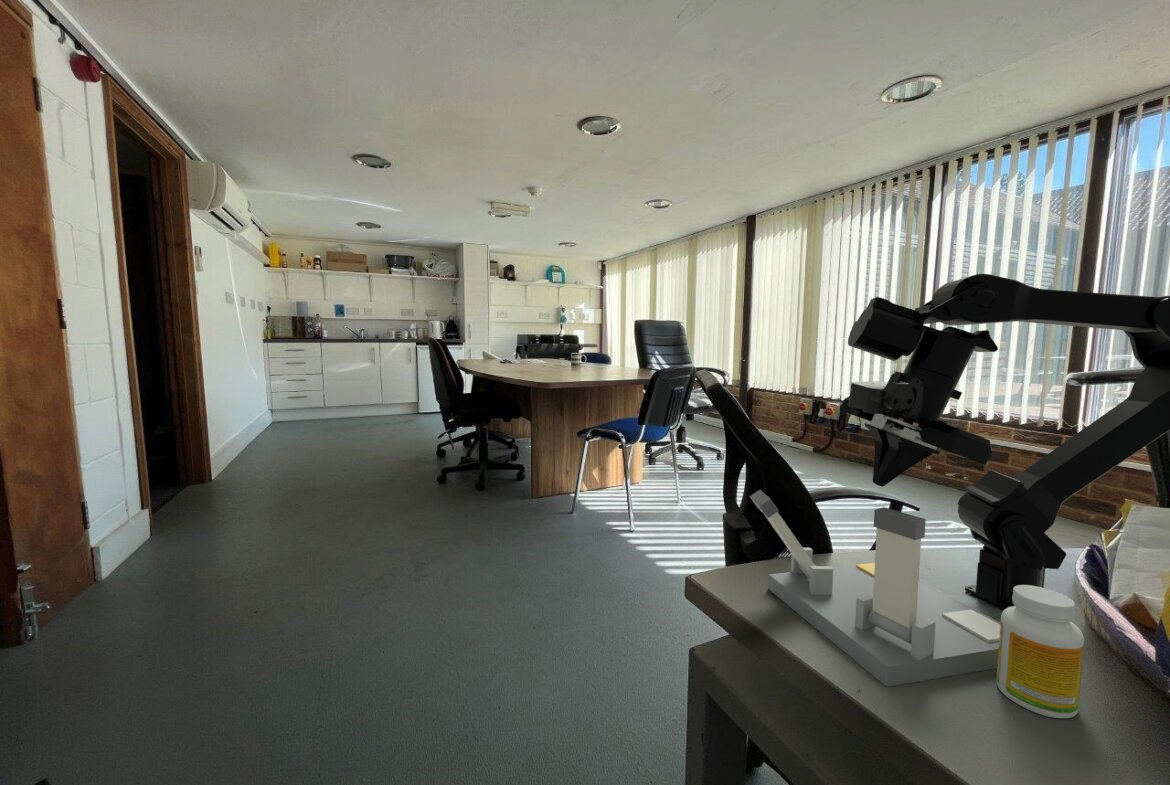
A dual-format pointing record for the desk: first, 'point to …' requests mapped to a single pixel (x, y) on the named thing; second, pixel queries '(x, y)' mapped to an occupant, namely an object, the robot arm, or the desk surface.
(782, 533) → the switch
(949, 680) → the desk surface
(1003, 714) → the desk surface
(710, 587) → the desk surface
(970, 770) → the desk surface
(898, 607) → the switch
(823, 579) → the grey base plate
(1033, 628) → the supplement bottle
